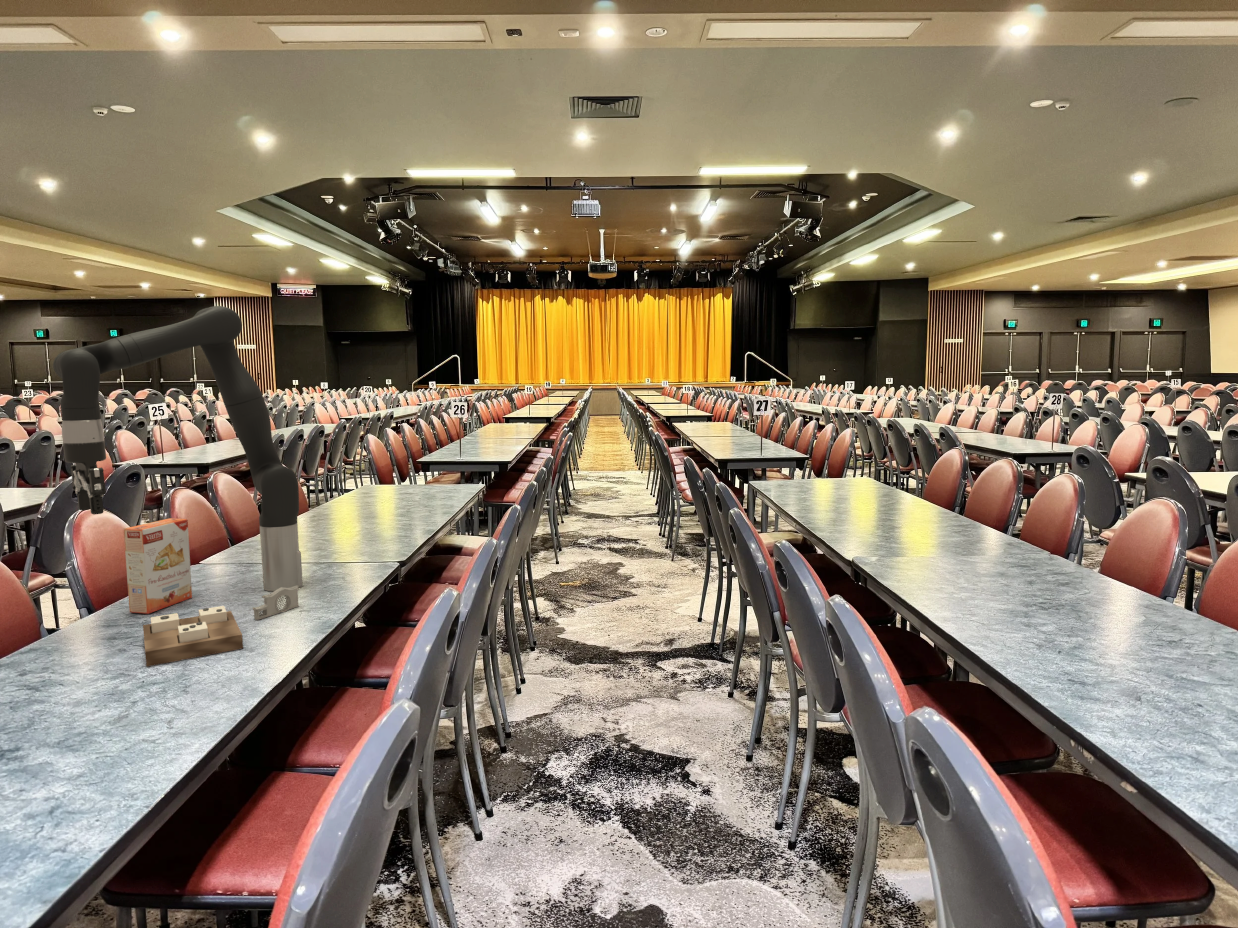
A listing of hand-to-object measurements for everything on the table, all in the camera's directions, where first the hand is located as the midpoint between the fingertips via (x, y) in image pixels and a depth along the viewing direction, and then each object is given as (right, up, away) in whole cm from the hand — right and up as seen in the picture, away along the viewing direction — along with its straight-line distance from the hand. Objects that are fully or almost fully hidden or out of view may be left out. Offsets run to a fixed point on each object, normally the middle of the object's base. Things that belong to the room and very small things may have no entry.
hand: (91, 511), depth 165 cm
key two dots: (+29, -25, -3) cm, 39 cm away
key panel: (+28, -27, -9) cm, 40 cm away
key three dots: (+31, -26, -13) cm, 43 cm away
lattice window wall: (+37, -25, +11) cm, 46 cm away
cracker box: (+5, -25, +17) cm, 31 cm away
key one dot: (+22, -26, -8) cm, 35 cm away
